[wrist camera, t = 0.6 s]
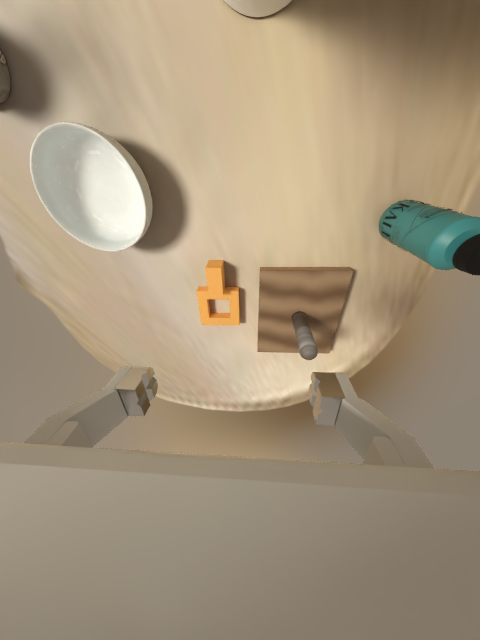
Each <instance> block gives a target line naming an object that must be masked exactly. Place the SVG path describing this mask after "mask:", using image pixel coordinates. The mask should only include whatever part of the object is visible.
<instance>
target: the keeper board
mask: <svg viewBox="0 0 480 640" xmlns="http://www.w3.org/2000/svg"><path fill="white" fill-rule="evenodd" d="M352 275H353V270H352V269H351V268H350V267H260V287H259V319H258V352H286V353H300V355H301V356H302V358H304V359H306V360H312V359H314V358H315V357H316V356H317V353H330V349H331V346H332V342H333V339H334V336H335V332H336V329H337V325H338V322H339V319H340V315H341V312H342V309H343V305H344V302H345V298H346V295H347V292H348V288H349V285H350V281H351V278H352Z"/></svg>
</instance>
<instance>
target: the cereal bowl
mask: <svg viewBox="0 0 480 640" xmlns="http://www.w3.org/2000/svg"><path fill="white" fill-rule="evenodd" d="M30 170H31V175H32V180H33V183H34V186H35V189H36V191H37V193H38V196H39V198H40V199H41V201H42V203H43V205H44V206H45V208H46V209H47V211H48V212H49V213H50V215H51V216H52V217H53V219H54V220H55V221H56V222H57V223H58V224H59V225H60V226H61V227H62V228H63V229H64V230H65V231H66V232H68V233H69V234H70V235H71V236H73V237H74V238H76V239H77V240H79V241H80V242H82V243H84V244H86V245H88V246H90V247H93V248H96V249H99V250H103V251H121V250H124V249H127V248H129V247H131V246H133V245H134V244H136V243H137V242H138V241H139V240H140V239H141V238H142V237H143V236H144V235H145V233H146V232H147V230H148V227H149V225H150V222H151V219H152V210H153V208H152V197H151V192H150V188H149V185H148V183H147V180H146V178H145V176H144V174H143V172H142V170H141V168H140V167H139V165H138V164H137V162H136V161H135V160H134V158H133V157H132V156H131V154H129V152H127V151H126V149H125V148H123V147H122V145H120V144H119V143H118V142H117V141H116V140H114V139H113V138H111V137H110V136H108V135H106V134H105V133H103V132H101V131H99V130H97V129H94V128H92V127H89V126H86V125H82V124H79V123H74V122H57V123H53V124H51V125H49V126H47V127H45V128H44V129H42V130H41V131H40V132H39V134H38V135H37V136H36V138H35V140H34V142H33V144H32V147H31V152H30Z"/></svg>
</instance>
